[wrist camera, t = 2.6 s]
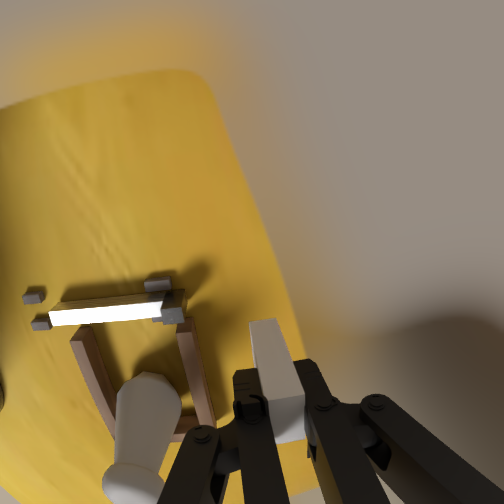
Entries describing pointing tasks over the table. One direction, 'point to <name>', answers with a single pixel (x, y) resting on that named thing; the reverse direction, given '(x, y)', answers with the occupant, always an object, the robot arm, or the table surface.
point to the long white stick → (123, 308)
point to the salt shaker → (141, 439)
